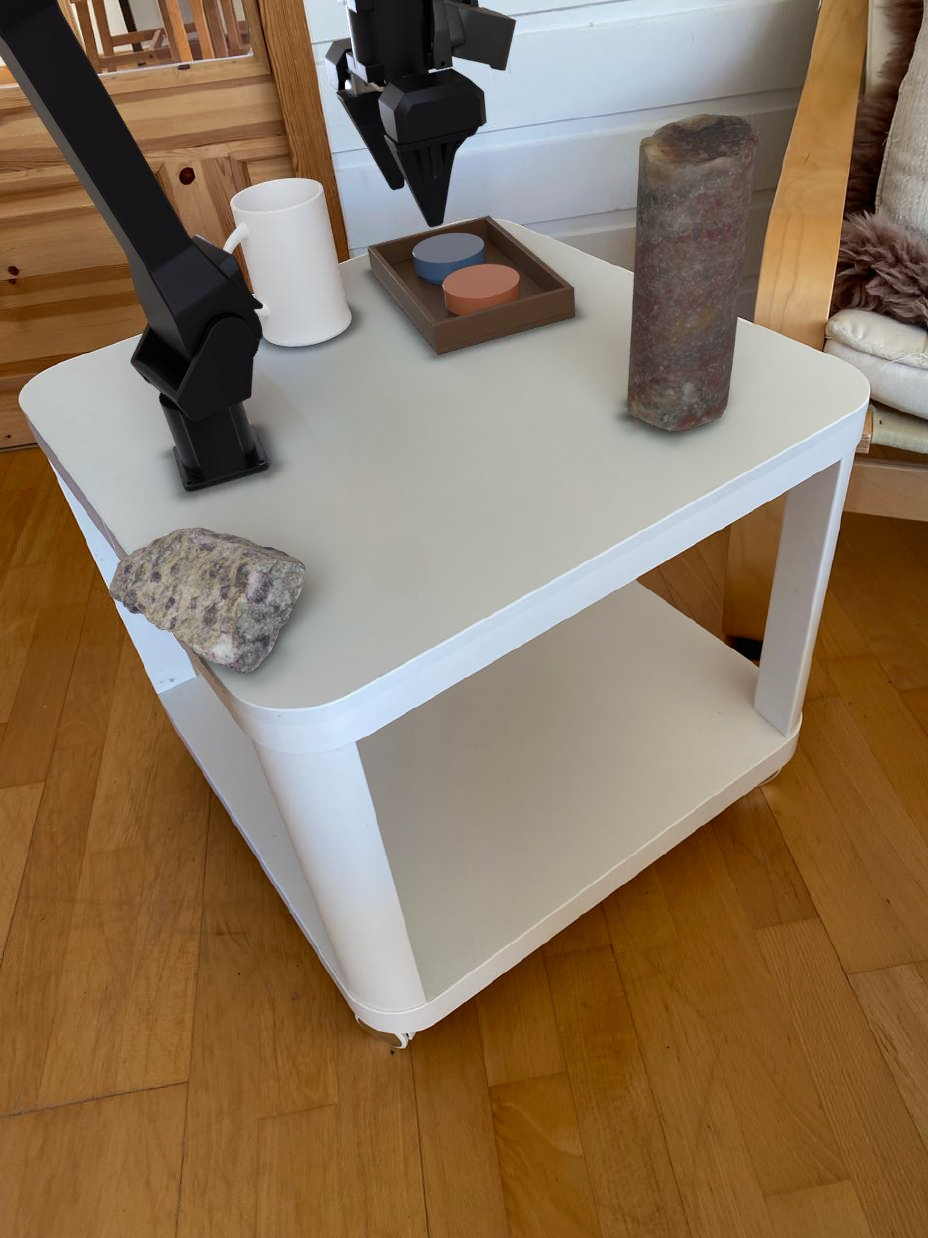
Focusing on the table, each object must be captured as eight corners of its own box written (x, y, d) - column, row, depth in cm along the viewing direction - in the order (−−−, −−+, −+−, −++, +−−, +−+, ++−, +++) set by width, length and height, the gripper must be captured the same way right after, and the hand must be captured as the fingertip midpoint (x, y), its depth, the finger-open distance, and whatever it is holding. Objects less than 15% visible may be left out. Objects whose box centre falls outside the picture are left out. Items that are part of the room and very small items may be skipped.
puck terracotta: (533, 310, 85) (532, 284, 84) (461, 330, 84) (458, 304, 82) (503, 282, 90) (501, 257, 88) (435, 300, 89) (432, 275, 87)
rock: (266, 690, 54) (338, 561, 60) (210, 625, 50) (291, 495, 56) (114, 680, 61) (191, 565, 66) (54, 623, 57) (140, 506, 62)
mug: (264, 371, 83) (227, 235, 75) (215, 343, 88) (175, 212, 80) (370, 320, 88) (345, 187, 80) (318, 296, 93) (290, 169, 85)
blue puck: (497, 275, 91) (495, 250, 90) (429, 293, 90) (426, 268, 88) (471, 250, 96) (468, 226, 95) (406, 267, 95) (403, 243, 93)
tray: (575, 316, 85) (574, 287, 83) (437, 354, 82) (433, 325, 80) (491, 241, 99) (489, 215, 97) (371, 272, 96) (366, 245, 94)
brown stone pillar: (750, 417, 70) (785, 126, 56) (677, 456, 67) (694, 160, 54) (677, 380, 75) (693, 103, 61) (606, 414, 72) (606, 134, 59)
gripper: (554, -43, 57) (563, 220, 67) (448, -74, 70) (470, 150, 81) (379, -8, 55) (416, 258, 65) (304, -46, 68) (345, 180, 78)
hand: (415, 206), depth 72 cm, fingers open, 9 cm apart
